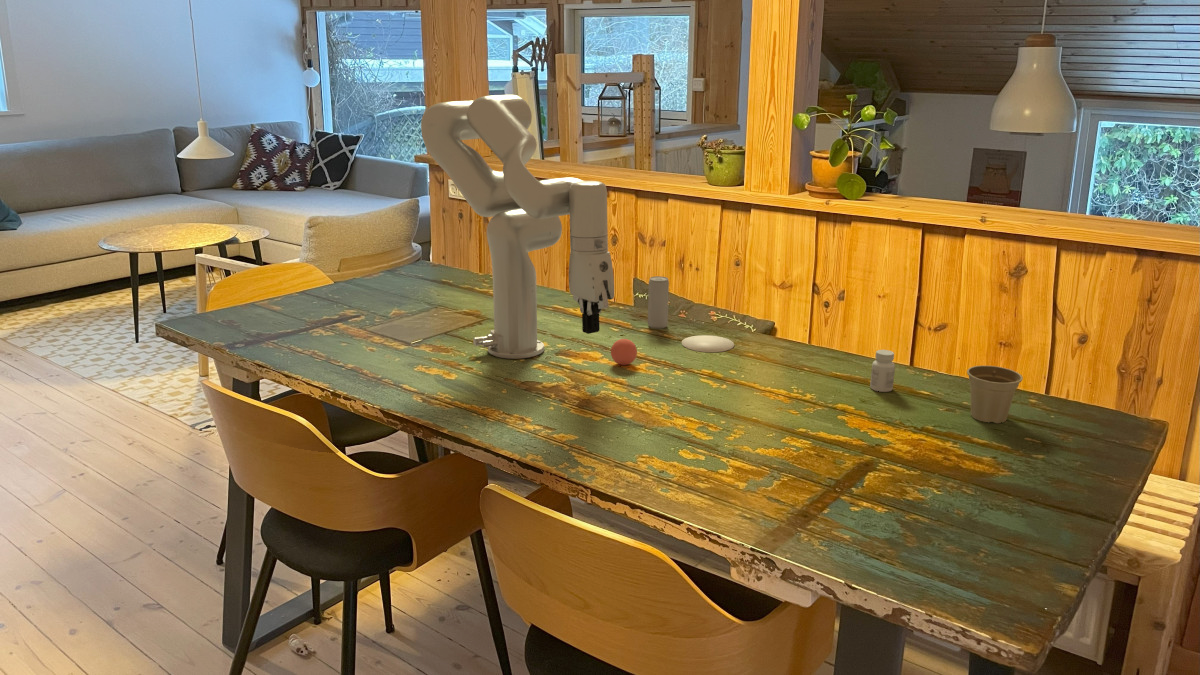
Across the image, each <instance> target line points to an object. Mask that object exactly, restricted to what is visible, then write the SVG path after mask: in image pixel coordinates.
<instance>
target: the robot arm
mask: <svg viewBox="0 0 1200 675" xmlns="http://www.w3.org/2000/svg"><path fill="white" fill-rule="evenodd" d="M532 117H533V116H532V110H531V108H530V106H529V104H528V102H527V101H526V100H525V99H524V98H522V97H521V96H519V95H516V94H494V95H493V94H492V95H483V96H479V97H477V98H476V99H474V100H455V101H454V100H453V101H452V100H451V101H445V102H443V101H442V102H438V103H435V104H432V105H431V106H429V107H428V108H426V109H425V111H424V112H423V115H422V117H421V121H420V123H421V124H420V129H421V130H420V131H421V136H422V140H423V142H424V146H425V148H426V150H427V152H428V153H429V155H430V157H431V158H432V159H433V161H434V162H435V163H437V165H438V166H439V167H440V168H441V169H442V170H443V171H444V172H445V173H446V174H447V175H448V177H449V178H450V180H451V181H452V183H453V184H454V185H455V187H456V189H458V191H459V192H460V194H461V195H462V196H463V199H465V201H466V202H467V204H468V205H469V206H470V208H472V210H473V211H474V213H475V214H477V215H478V216H481V217H485V218H489V217H490V220H489V221H488V222H487V226H486V238H487V239H486V240H487V245H488V248H489V252H490V258H491V259H490V260H491V268H492V269H491V270H492V289H493V290H492V293H493V297H492V298H493V326H494V329H491V330H490V331H489V332H490V333H489V334H486V336H475V337H474V336H473V338H472V341H473V342H472V343H473V345H474V346H475V347H478V346H482V347H483V348H487V352H488V353H489V354H490V355H492V356H494V357H497V358H500V359H501V358H502V359H511V360H512V359H514V360H515V359H516V360H517V359H527V358H528V359H529V358H533V357H535V356H536V357H537V356H539V355H540V354H542V353H543V352H544V351H545V343H543V342H542V341H541V340H539V339H538V309H537V308H538V307H537V306H538V305H537V303H538V298H537V296H538V295H537V289H538V288H537V286H538V285H537V272H536V267H535V265H534V264H533V262H532V259H531V257H530V255H529V253H531V252H533V251H537V250H541V249H545V248H549V247H552V246H554V245H555V244H556V243H558V242H559V240H561V236H562V233H563V232H562V231H563V226H562V221H561V219H560V216H561V217H563V216H568V215H569V242H570V243H569V244H570V252H569V261H568V262H569V263H568V290H569V293H570V294H571V295H572V299H573V300H574V301H575V302H577V303H578V305H579V311H580V313H581V314H582V315H581V318H582V319H581V320H582V321H581V322H582V323H581V325H582V330H581V331H582V333H584V334H587V335H589V334H594V333H597V332H600V330H601V329H600V314H601V313H602V309H607V308H609V300H613V299H615V298H614V297H615V280H614V268H613V261H612V257H611V253H610V251H609V245H608V244H609V241H608V240H609V237H608V235H609V234H608V231H609V230H608V190H607V189H608V188H607V186H606V184H605V183H604V182H601V181H598V180H583V179H580V178H577V177H569V176H564V177H559V178H550V179H542V180H539V179H537V178H536V177H535V176H534V175H533V174H532V173H531V172H530V171H529V169H528V168H527V167H526V164H528V163H529V162H530V160H531V159H532V157H533V156H534V154H535V152H536V150H537V139H536V138H535V137H534V135H533V134H532V133H531V132H530V131H529V130H528V129H529V128H530V126H531V123H532ZM478 139H481V141H483V142H484V143H485V145H486V146H487V147H488V148H489V149H490V151H492V152H493V154H494V155H495V156H496V157H497V158H498V159H499V160H500V161H501V163H502V164H503V166H502V171H497V170H494V169H493V168H492V167H490V165H489V164H488V163H487V161H486V160H485V159H484V157H483V156H482V155H481V154H480V152H478V151H476V150H475V149H474V148H473V147H472V146H470V145H468V144H466V143H465V142H464V141H467V140H478Z"/></svg>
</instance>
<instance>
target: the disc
mask: <svg viewBox="0 0 1200 675" xmlns="http://www.w3.org/2000/svg"><path fill="white" fill-rule="evenodd" d="M681 345H682V347H684V348H686V349H687V350H691V351H695V352H703V353H721V352H726V351H729V350H732V349H733V348H734V347H735V343H734V341H733V340H731V339H729V338H726V337H722V336H719V335H694V336H689V337H685V338H684V339H682V341H681Z"/></svg>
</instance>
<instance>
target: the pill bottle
mask: <svg viewBox="0 0 1200 675" xmlns="http://www.w3.org/2000/svg"><path fill="white" fill-rule="evenodd" d="M894 359H895V353H894V352H893V351H892V350H887V349H879V350H876V351H875V360H874V361H873V362H872V364H871V375H870V384H869V387H870V388H871V389H872V390H873V391H875V392H878V391H879V392H880V393H888V392H889V393H890V392H891V391H893V389H894V388H893V387H894V380H895V370H896V365H895V363H894V362H893V361H894Z"/></svg>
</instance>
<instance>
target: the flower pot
mask: <svg viewBox="0 0 1200 675" xmlns="http://www.w3.org/2000/svg"><path fill="white" fill-rule="evenodd" d="M966 374H967V376H968V381H969V384H970V387H969V388H970V414H971V417H972V418H973V419H975V420H977V421H980V422H982V421H983V423H986V422H988V423H994V424H1002V423H1004V422H1006V421H1007V419H1008V415H1009V412H1010V409H1011V406H1012V402H1013V399H1014V396H1015V393H1016V390H1017V389H1018V387H1019V386H1020V383H1022V381H1023V380H1024V379H1023V374H1020V373H1019V372H1018V371H1015V370H1013V369H1010V368H1006V367H1003V366H1002V367H1001V366H997V365H996V366H995V365H974V366H972V367H971V366H970V367H969V368H968V369H967V371H966ZM1001 422H1002V423H1001Z"/></svg>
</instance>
